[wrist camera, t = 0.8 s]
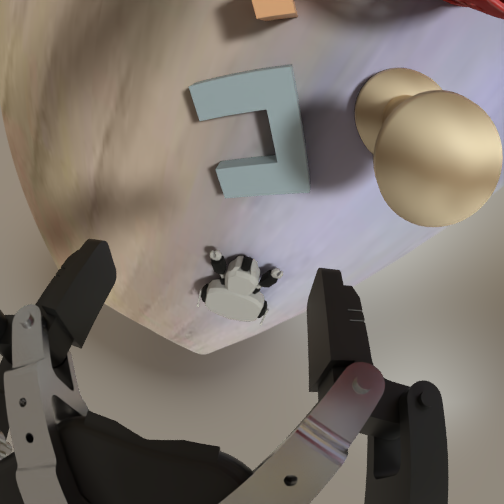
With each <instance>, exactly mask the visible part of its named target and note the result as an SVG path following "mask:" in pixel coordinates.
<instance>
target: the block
mask: <svg viewBox="0 0 504 504" xmlns="http://www.w3.org/2000/svg"><path fill="white" fill-rule="evenodd" d="M252 3H253V7H254V11H255V14H256V18H257V19H260V20H264V21H270V20H277V19H284V18H293V17H298V15H297V11H296V7H295V3H294V0H252Z"/></svg>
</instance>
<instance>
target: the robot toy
mask: <svg viewBox="0 0 504 504" xmlns="http://www.w3.org/2000/svg"><path fill="white" fill-rule="evenodd" d="M210 257H211V258H212V260H211V264H212V266H213V269H214V271H215V272H217V273H218V274H220V279H217V280H213V281H211V282H210V283H209V284H206V285H205V286H204V287H203V289H200V295H199V300H198V304H197V307H198V306H199V301H200V297H202V301H203V302H205V306H206V307H207V308H208V309H209V310H210V311H212V312H214V313H216V314H218V315H220V316H223V317H225V318H228V319H233V320H238V321H245V322H250V321H255V320H256V319H257V318H260V317H262V316H263V315H264V317H263V319H262V321H261V323H260V326H261V325H262V322H263V320H264V318H265V315H266V313H267V312H268V308H267V301H265V300H264V295H263V294H262V293H261V292H259V291H260V288H261V287H270V286H272V285H273V284H275V283H276V282H277V280H278V278H281V277H282V276H283V271H280V269H279V268H275V269H273V270H269V271H267V272H266V273H265V274H263V275H262V277H261V279H260V282H259V277H260V269H259V268H258V263H257V261H256V260H254V259H253V261H252V259H251V258H249V257H245V258H244V259H243V257H244V256H238V257H237V258H236V259H235V260H233V261H231V262H230V263H229V265H228V268H227V271H226V274H225V270H226V262H225V259H224V256H222V254H221V252H220V251H219V250H215V252H214V250H212V251H211V252H210ZM258 282H259V283H258Z"/></svg>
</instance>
